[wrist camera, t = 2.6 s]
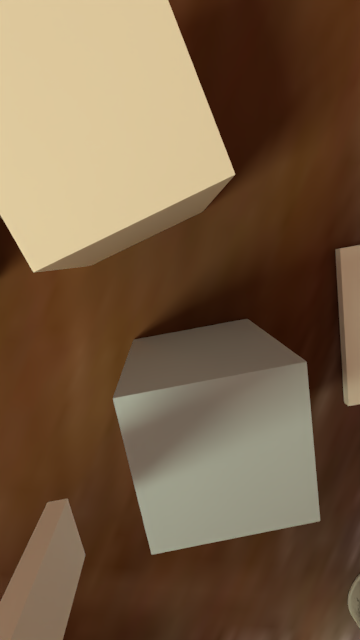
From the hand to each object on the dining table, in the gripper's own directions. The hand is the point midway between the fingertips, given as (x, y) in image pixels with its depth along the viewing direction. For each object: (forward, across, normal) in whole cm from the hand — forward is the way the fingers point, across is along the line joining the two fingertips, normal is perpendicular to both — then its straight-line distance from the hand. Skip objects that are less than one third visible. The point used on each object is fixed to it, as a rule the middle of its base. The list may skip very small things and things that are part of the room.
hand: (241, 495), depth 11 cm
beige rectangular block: (+11, -3, +15) cm, 19 cm away
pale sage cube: (+11, 0, 0) cm, 11 cm away
